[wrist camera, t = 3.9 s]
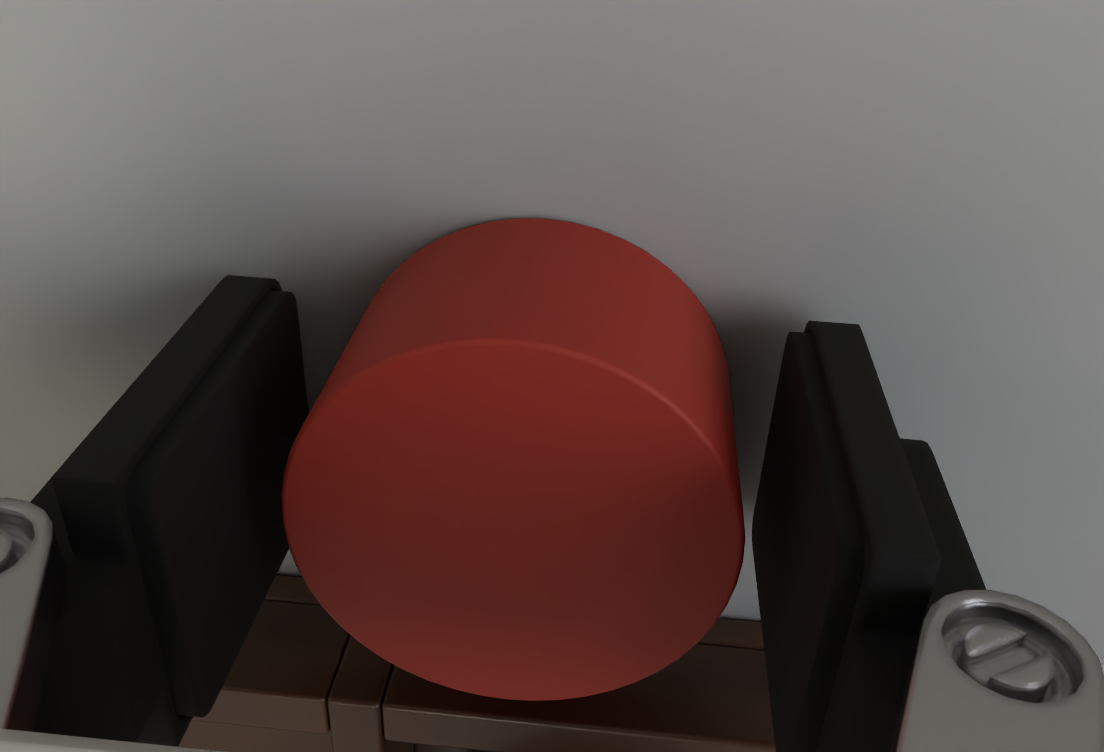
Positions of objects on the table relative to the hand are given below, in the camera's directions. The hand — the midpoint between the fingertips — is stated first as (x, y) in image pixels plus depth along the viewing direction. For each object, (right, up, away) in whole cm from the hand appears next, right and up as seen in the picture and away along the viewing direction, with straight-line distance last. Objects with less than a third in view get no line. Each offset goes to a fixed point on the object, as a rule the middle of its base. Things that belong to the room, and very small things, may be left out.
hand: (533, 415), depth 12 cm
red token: (0, 0, 0) cm, 1 cm away
